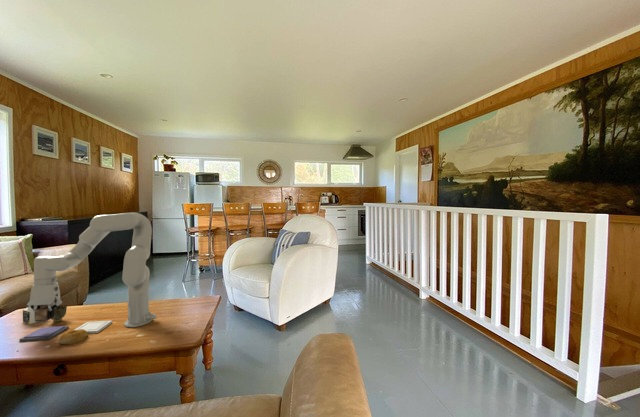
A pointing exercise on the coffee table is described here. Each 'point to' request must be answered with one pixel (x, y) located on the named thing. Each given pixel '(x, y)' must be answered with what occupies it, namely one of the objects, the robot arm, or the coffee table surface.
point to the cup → (59, 313)
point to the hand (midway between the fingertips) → (44, 317)
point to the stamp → (41, 313)
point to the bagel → (73, 336)
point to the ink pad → (44, 333)
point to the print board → (94, 326)
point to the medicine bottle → (28, 315)
